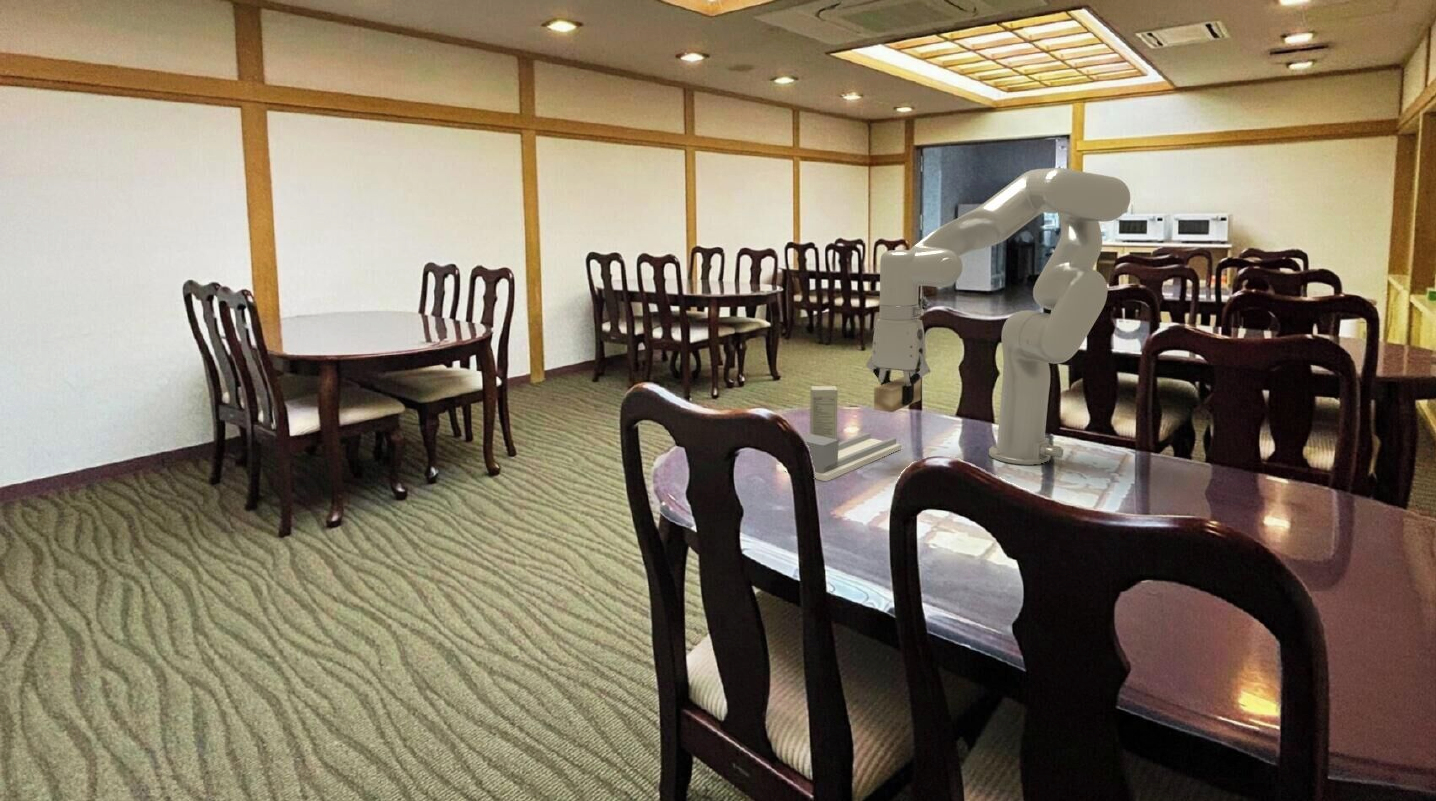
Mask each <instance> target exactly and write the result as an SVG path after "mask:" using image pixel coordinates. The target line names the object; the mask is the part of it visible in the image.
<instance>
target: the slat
mask: <svg viewBox="0 0 1436 801" xmlns="http://www.w3.org/2000/svg"><path fill="white" fill-rule="evenodd" d="M890 381H891V382H888V383H886V384H883V385H881V384H880V385H878V386H875V387H874V388H873V395H874V396H873V410H874V411H880V412H887V413H894V412H896V411H898V410H900V409H903V408H905V407H908V406H910V405H912V404H914V403H916V402H919V401H921V392H922V378H920V379H919V380H918V381H917V383H916V384H914V399H913V401H912V403H910V404H908V405H903V404H902V390H903V386H905V381H904V376H902V377H899V378H896V379H894V380H890Z"/></svg>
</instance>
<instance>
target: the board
mask: <svg viewBox="0 0 1436 801" xmlns="http://www.w3.org/2000/svg"><path fill="white" fill-rule="evenodd" d="M802 436H803V437H804V440H805V441H806V443H807V445H808V446H809V449H810V454H811V456H812V460H813V465H814V467H815V477H816V479H815V480H819V481H821V482H822V481H823V482H829V481H831V480H833V479H836V478H838V477H840V476H843V475H844V474H848V473H849V472H852V471H855V470H856V469H858V468H862V467H864V466H866V465H868V464H871V463H873V462H875V461H877V460H881V459H882V457H883V458H884V456H885V457H886V456H889V454H890V455H892V454H894V453H896V452H895V451H897V452H899V451H901V450H902V444H901V443H897V438H896V437H891V438H887V439H885V440H880V439H876V438H872V433H871V432H864V433H862V434H859V435H857V436H854V437H851V438H848V439H846V440H843V441H840V442H839V439H838V438H837V439H832V438H827V437H823V436H818V435H813V434H810V433H808V432H807V433H805V434H802ZM900 449H901V450H900ZM898 450H899V451H898ZM893 452H894V453H893ZM891 453H892V454H891Z"/></svg>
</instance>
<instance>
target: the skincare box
mask: <svg viewBox="0 0 1436 801" xmlns="http://www.w3.org/2000/svg"><path fill="white" fill-rule="evenodd" d="M838 389H839V388H838V385H837V386H836V385H833V386H832V385H831V386H830V385H829V386H828V385H810V402H809V403H810V408H809V409H810V411H809V412H810V413H809V416H810V418H809V419H810V421H809V424H810V425H809V426H810V428H809V429H810V430H809V432H810V433H809V434H813V435H818V436H823V437H827V438H832V439H837V440H838V393H839V392H838Z"/></svg>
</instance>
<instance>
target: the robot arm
mask: <svg viewBox="0 0 1436 801" xmlns="http://www.w3.org/2000/svg"><path fill="white" fill-rule="evenodd" d="M1130 203H1131V193H1130V188H1128V186H1127V184H1126V183H1125V182H1124V181H1123V180H1121V179H1119V178H1117V177H1114V176H1108V175H1105V174H1104V175H1103V174H1098V173H1091V172H1087V171H1080V170H1076V169H1069V168H1064V167H1051V168H1049V167H1048V168H1037V169H1030V170H1028V171H1026V172H1025V173H1022V174H1021V175H1019V176H1018V177H1017V178H1015V179H1014V180H1013V181H1011V182H1010V183H1008V185H1006V186H1005V187H1003V188H1002V189H1001V190H999V191H998V192H997V193H996V194H994V195H993V196H991V197H990V198H989V199H987V200H986V201H985V202H984V203H982V204H981V205H979V206H978V207H977V208H975V209H972V210H971V211H968V212H967V213H964V214H963V215H960V216H959V217H957V218H955V219H953V220H951V221H949V222H948V223H946V224H943V225H942V226H940V227H938V228H937V229H935V230H934V231H932V232H930V233H929V234H928V235H926V236H925V237H924V238H922V239H921V240H920V241H918V242H917V243H915V245H913V246H912V247H911V248H910V249H895V250H893V249H890V250H886V251H884V252H883V253H882V254H881V256H880V260H879V261H880V262H879V263H880V264H879V266H880V267H879V271H880V272H879V275H880V276H879V318H877V319H876V323H875V326H874V332H873V338H872V339H873V340H872V346H871V351H872V352H871V356H870V358H869V359H868V361H867V362H866V364H865V366H866V368H868V370H870V371H871V372H872V373H873V374H874V375H875V377H876V378H877V380H878V381H877V382H878V383H880V385H883V384H886V383H888V382H891V381H892V380H891V376H892V370H893V371H902V374H903V377H904V381H905V386H903V390H902V404H903V405H908V404H910V403H912V401H913V399H914V384H916V383H917V381H918V380H919V379H922V378H924V376H927V375H928V374H930V373H931V368H930V367H929V365H928V363H927V360H926V358H927V354H926V353H927V352H926V350H927V349H926V338H925V330H924V324H923V320H921V319H919V317H920V316H921V317H922V316H924V315H925V310H924V309H923V308H920V305H919V293H920V292H919V290H920V286H921V287H922V286H924V287H934V288H935V287H936V288H942V287H943V288H944V287H948V286H951V285H952V284H954V283H956V282H957V281H958V280H959V278H960V277H961V275H962V272H963V262H962V259H961V257H960V256H962V255H964V254H967V253H970V252H972V251H977V250H981V249H985V248H989V247H993V246H996V245H998V244H1001V243H1002V242H1003V243H1004V241H1006V240H1008V239H1009V238H1010V237H1011V236H1012V235H1014V234H1015V233H1016V232H1018V231H1019V230H1020V229H1022V228H1023V227H1024V226H1025V225H1027V224H1029V222H1031V221H1032V220H1034V219H1035V218H1037V217H1038V216H1040V215H1041V214H1043V213H1057V214H1058V215H1057V216H1058V220H1059V223H1060V236H1059V240H1058V242H1057V244H1056V246H1055V248H1054V250H1053V252H1052V254H1051V256H1050V258H1049V259H1048V261H1047V263H1046V264H1045V265H1044V267H1043V269H1042V271H1041V273H1040V274H1039V276H1038V277H1037V280H1036V281H1035V284H1034V286H1033V289H1032V290H1033V291H1032V294H1033V295H1032V296H1033V297H1032V298H1033V299H1034V301H1035V303H1036V304H1037V305H1038V306H1039V307H1041V308H1044V309H1045V310H1050V311H1051V312H1050V313H1047V312H1042V311H1036V310H1029V309H1026V310H1020V311H1017V312H1014V313H1013V314H1011V315H1010V316H1009V317H1008V318H1006V320H1005V322H1004V324H1003V326H1002V330H1001V335H1000V336H1001V348H1002V349H1001V350H1002V357H1003V358H1002V359H1003V360H1002V362H1003V364H1002V379H1001V380H1002V382H1001V393H1000V394H1001V395H1000V405H999V415H998V416H999V417H998V426H997V427H998V428H997V440H996V441H997V443H996V444H995V445H992V446H991V447H989V449H988V455H989V457H991V458H993V459H995V460H998V461H1000V462H1004V463H1009V464H1013V465H1025V466H1028V465H1030V466H1032V465H1034V464H1037V465H1042V464H1041V463H1043V464H1045V463H1044V462H1046V461H1048V462H1050V461H1049V460H1051V456H1052V457H1054V458H1059V459H1062V458H1063V455H1064V449H1063V448H1062V446H1058V445H1053V444H1052V445H1051V443H1049V442H1050V438H1049V437H1045V436H1046V426H1047V416H1048V415H1047V414H1048V404H1049V395H1050V387H1051V368H1050V364H1061V363H1066V362H1067V361H1068V360H1071V359H1072V357H1074V355H1076V353H1077V352H1078V351H1079V349H1080V348H1081V346H1082V345H1083V343H1084V341H1085V339H1086V338H1087V336H1088V335H1089V333H1090V332H1091V329H1092V328H1093V326H1094V324H1095V323H1096V321H1097V320H1098V318H1099V316H1100V315H1101V312H1102V311H1103V309H1104V306H1105V304H1106V301H1107V298H1108V284H1107V281H1106V279H1105V277H1104V276H1103V275H1102V273H1100V272H1099V271H1098V270H1095V269H1094V267H1095V265H1096V263H1097V262H1098V259H1099V258H1100V255H1101V252H1102V248H1103V235H1102V229H1101V226H1100V222H1105V223H1107V222H1111V221H1115V220H1117V219H1119V218H1121V217H1122V216H1123V215H1124V214H1125V213H1126V212H1127V210H1128V208H1129V206H1130ZM916 369H919V371H917V372H916ZM912 404H913V403H912ZM910 405H911V404H910ZM908 406H909V405H908Z"/></svg>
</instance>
